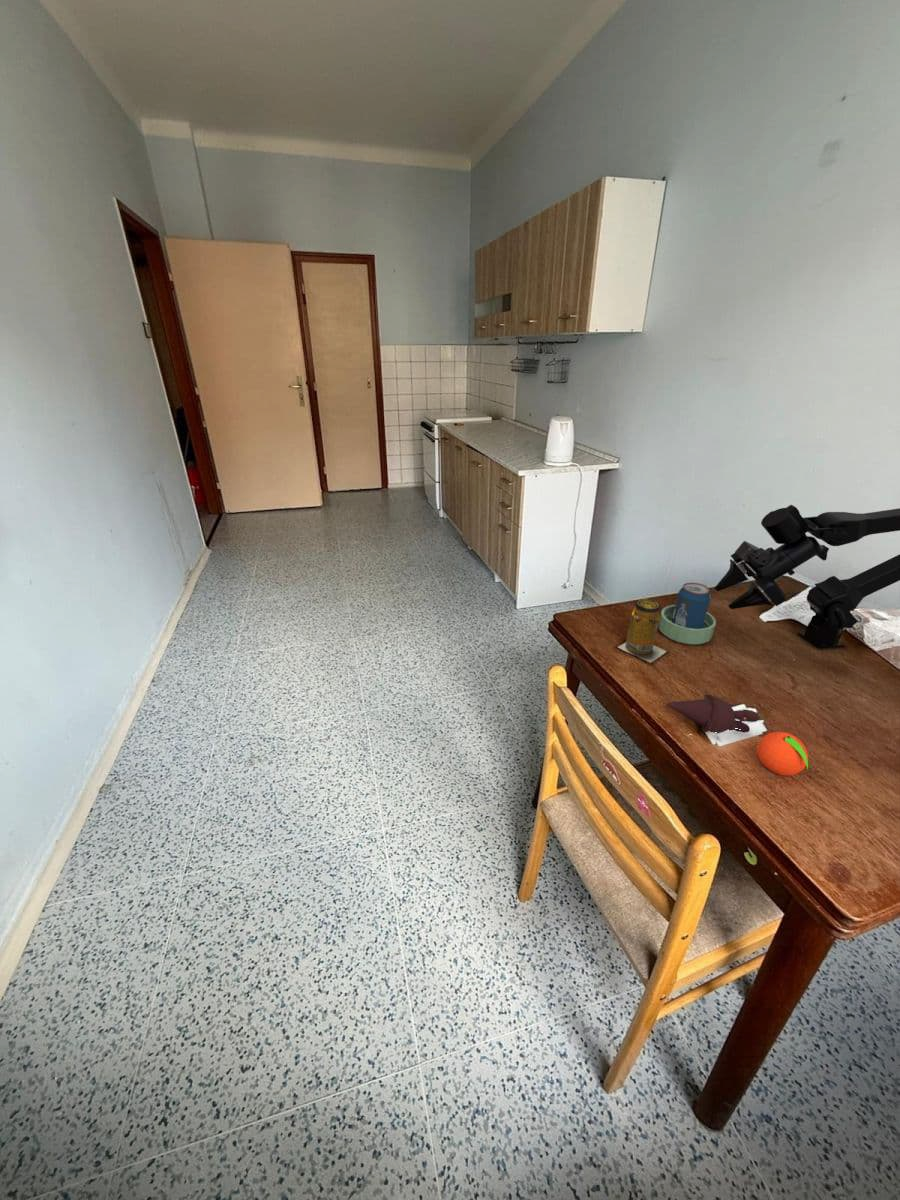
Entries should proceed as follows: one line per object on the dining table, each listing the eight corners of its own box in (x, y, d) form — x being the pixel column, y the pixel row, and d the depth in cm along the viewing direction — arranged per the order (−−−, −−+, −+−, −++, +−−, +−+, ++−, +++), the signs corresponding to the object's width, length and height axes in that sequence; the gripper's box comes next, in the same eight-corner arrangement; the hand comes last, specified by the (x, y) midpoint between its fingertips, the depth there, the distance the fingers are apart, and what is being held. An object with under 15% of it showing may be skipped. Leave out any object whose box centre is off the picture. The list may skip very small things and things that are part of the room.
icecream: (673, 709, 84) (766, 731, 80) (672, 677, 89) (759, 696, 85) (661, 730, 88) (749, 751, 85) (661, 698, 94) (743, 717, 90)
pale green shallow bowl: (693, 618, 124) (697, 603, 122) (722, 643, 113) (727, 627, 111) (649, 621, 123) (652, 606, 120) (673, 647, 112) (677, 631, 110)
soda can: (700, 627, 119) (712, 584, 113) (700, 640, 113) (712, 596, 108) (671, 621, 122) (681, 579, 116) (669, 634, 116) (679, 591, 110)
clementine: (816, 785, 77) (832, 753, 73) (779, 793, 75) (794, 761, 72) (776, 749, 83) (789, 719, 80) (742, 756, 82) (754, 725, 79)
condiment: (634, 637, 116) (642, 594, 111) (666, 651, 110) (677, 607, 105) (617, 648, 112) (625, 604, 106) (650, 664, 106) (660, 618, 101)
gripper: (750, 518, 111) (690, 559, 118) (787, 548, 95) (716, 593, 102) (776, 550, 114) (716, 589, 121) (816, 584, 98) (745, 626, 105)
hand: (722, 598), depth 112 cm, fingers open, 9 cm apart
